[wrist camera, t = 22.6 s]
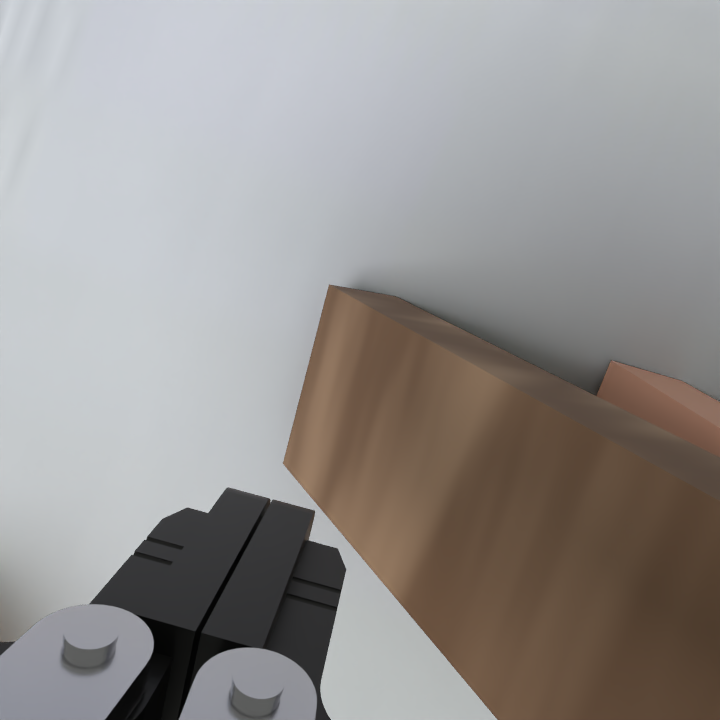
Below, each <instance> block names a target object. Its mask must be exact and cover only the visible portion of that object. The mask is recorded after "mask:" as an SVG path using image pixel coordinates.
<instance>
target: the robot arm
mask: <svg viewBox="0 0 720 720" xmlns="http://www.w3.org/2000/svg"><path fill="white" fill-rule="evenodd" d="M314 515H315V511H314V510H310V509H306V508H303V507H299V506H295V505H292V504H288V503H284V502H281V501H277V500H272V502H271V503H270V499H269V498H265V497H262V496H258V495H254V494H251V493H247V492H243V491H240V490H236V489H232V488H226V490H225V491H224V492H223V494H222V495H221V496H220V498H219V499H218V500H217V502H216V503H215V505H214V506H213V507H212V509H211V510H210V512H209V513H205V512H202V511H198V510H194V509H191V508H185V509H183V510H181V511H179V512H177V513H174V514H172V515H170V516H168V517H166V518H163V519H162V520H161V521H160V522H159V524H158V525H157V526H156V527H155V528H154V529H153V531H152V532H151V533H150V534H149V535H148V536H147V540H144V541H143V542H142V543H141V545H140V546H139V547H138V548H137V549H136V550H135V553H134V555H131V556H130V557H129V559H128V560H127V561H126V562H125V563H124V564H123V566H122V567H121V568H120V569H119V570H118V571H117V572H116V574H115V575H114V576H113V577H112V578H111V579H110V581H109V582H108V583H107V584H106V585H105V586H104V588H103V589H102V590H101V591H100V592H99V593H98V595H97V596H96V597H95V598H94V599H93V600H92V602H91V603H90V604H89V605H78V606H73V607H68V608H65V609H61V610H59V611H56V612H54V613H51V614H50V615H48V616H46V617H44V618H42V619H41V620H40V621H39V622H37V623H36V624H35V625H34V626H32V627H31V628H30V629H29V630H28V631H27V632H26V633H25V634H24V635H23V636H21V637H20V638H19V639H18V640H17V641H16V642H0V720H331V719H330V718H329V716H328V715H327V713H326V710H325V708H324V706H323V703H322V699H321V694H320V684H321V678H322V673H323V669H324V665H325V660H326V656H327V651H328V647H329V643H330V638H331V634H332V629H333V625H334V621H335V616H336V611H337V607H338V603H339V599H340V594H341V590H342V585H343V581H344V577H345V572H346V568H345V565H344V563H343V561H342V558H341V556H340V553H339V551H338V549H337V548H333V547H330V546H326V545H323V544H319V543H315V542H312V541H308V540H309V536H310V532H311V528H312V524H313V520H314Z"/></svg>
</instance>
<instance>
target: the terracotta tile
mask: <svg viewBox="0 0 720 720" xmlns="http://www.w3.org/2000/svg"><path fill="white" fill-rule="evenodd" d="M597 397H599V398H601V399H603V400H605V401H607V402H609V403H611V404H613V405H615V406H617V407H619V408H621V409H624V410H626V411H628V412H630V413H632V414H634V415H636V416H638V417H640V418H642V419H644V420H646V421H648V422H650V423H652V424H654V425H656V426H658V427H660V428H662V429H664V430H666V431H668V432H670V433H672V434H674V435H676V436H678V437H680V438H682V439H684V440H686V441H688V442H690V443H692V444H694V445H696V446H698V447H700V448H702V449H704V450H706V451H708V452H710V453H712V454H714V455H716V456H718V457H720V402H719V401H717V400H715V399H713V398H712V397H710V396H708V395H706V394H704V393H703V392H701V391H699V390H697V389H696V388H694V387H692V386H690V385H688V384H687V383H685V382H683V381H680V380H677V379H674V378H670V377H667V376H663V375H660V374H656V373H653V372H649V371H646V370H643V369H639V368H636V367H632V366H629V365H625V364H622V363H618V362H615V361H612V360H611V362H610V364H609V367H608V369H607V371H606V374H605V376H604V379H603V381H602V384H601V386H600V388H599V391H598V393H597Z"/></svg>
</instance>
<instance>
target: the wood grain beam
mask: <svg viewBox="0 0 720 720" xmlns="http://www.w3.org/2000/svg"><path fill="white" fill-rule="evenodd" d="M283 464H284V465H285V467H286V468H287V469H288V470H289V471H290V473H291V474H292V475H293V476H294V477H295V479H296V480H297V481H298V482H299V483H300V484H301V486H302V487H303V488H304V489H305V490H306V492H307V493H308V494H309V495H310V496H311V498H312V499H313V500H314V501H315V502H316V504H317V505H318V506H319V507H320V508H321V510H322V511H323V512H324V513H325V514H326V515H327V517H328V518H329V519H330V520H331V521H332V523H333V524H334V525H335V526H336V527H337V529H338V530H339V531H340V532H341V533H342V535H343V536H344V537H345V538H346V539H347V541H348V542H349V543H350V544H351V545H352V547H353V548H354V549H355V550H356V551H357V552H358V554H359V555H360V556H361V557H362V558H363V560H364V561H365V562H366V563H367V564H368V566H369V567H370V568H371V569H372V570H373V572H374V573H375V574H376V575H377V576H378V578H379V579H380V580H381V581H382V582H383V583H384V585H385V586H386V587H387V588H388V589H389V591H390V592H391V593H392V594H393V595H394V597H395V598H396V599H397V600H398V601H399V603H400V604H401V605H402V606H403V607H404V609H405V610H406V611H407V612H408V613H409V615H410V616H411V617H412V618H413V619H414V620H415V622H416V623H417V624H418V625H419V626H420V628H421V629H422V630H423V631H424V632H425V634H426V635H427V636H428V637H429V638H430V640H431V641H432V642H433V643H434V644H435V646H436V647H437V648H438V649H439V650H440V651H441V653H442V654H443V655H444V656H445V657H446V659H447V660H448V661H449V662H450V663H451V665H452V666H453V667H454V668H455V669H456V671H457V672H458V673H459V674H460V675H461V677H462V678H463V679H464V680H465V681H466V682H467V684H468V685H469V686H470V687H471V688H472V690H473V691H474V692H475V693H476V694H477V696H478V697H479V698H480V699H481V700H482V702H483V703H484V704H485V705H486V706H487V708H488V709H489V710H490V711H491V712H492V714H493V715H494V716H495V717H496V718H497V719H498V720H720V457H718V456H716V455H714V454H712V453H710V452H708V451H706V450H704V449H702V448H700V447H698V446H696V445H694V444H692V443H690V442H688V441H686V440H684V439H682V438H680V437H678V436H676V435H674V434H672V433H670V432H668V431H666V430H664V429H662V428H660V427H658V426H656V425H654V424H652V423H650V422H648V421H646V420H644V419H642V418H640V417H638V416H636V415H634V414H632V413H630V412H628V411H626V410H624V409H621V408H619V407H617V406H615V405H613V404H611V403H609V402H607V401H605V400H603V399H601V398H599V397H597V396H595V395H593V394H591V393H589V392H587V391H585V390H583V389H581V388H579V387H577V386H575V385H573V384H571V383H569V382H567V381H565V380H563V379H561V378H559V377H557V376H555V375H553V374H551V373H549V372H547V371H545V370H543V369H541V368H539V367H537V366H535V365H533V364H531V363H529V362H527V361H525V360H523V359H521V358H519V357H517V356H515V355H513V354H511V353H509V352H507V351H505V350H503V349H501V348H499V347H497V346H495V345H493V344H491V343H489V342H487V341H485V340H483V339H480V338H478V337H476V336H474V335H472V334H470V333H468V332H466V331H464V330H462V329H460V328H458V327H456V326H454V325H452V324H450V323H448V322H446V321H444V320H442V319H440V318H438V317H436V316H434V315H432V314H430V313H428V312H426V311H424V310H422V309H420V308H418V307H416V306H414V305H412V304H410V303H408V302H406V301H404V300H402V299H400V298H398V297H396V296H390V295H385V294H379V293H374V292H368V291H362V290H357V289H351V288H346V287H340V286H334V285H329V287H328V291H327V295H326V299H325V302H324V306H323V310H322V314H321V318H320V322H319V326H318V330H317V333H316V337H315V341H314V345H313V349H312V353H311V357H310V361H309V365H308V368H307V372H306V376H305V380H304V384H303V388H302V392H301V396H300V399H299V403H298V407H297V411H296V415H295V419H294V423H293V427H292V430H291V434H290V438H289V442H288V446H287V450H286V454H285V458H284V461H283Z"/></svg>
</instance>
